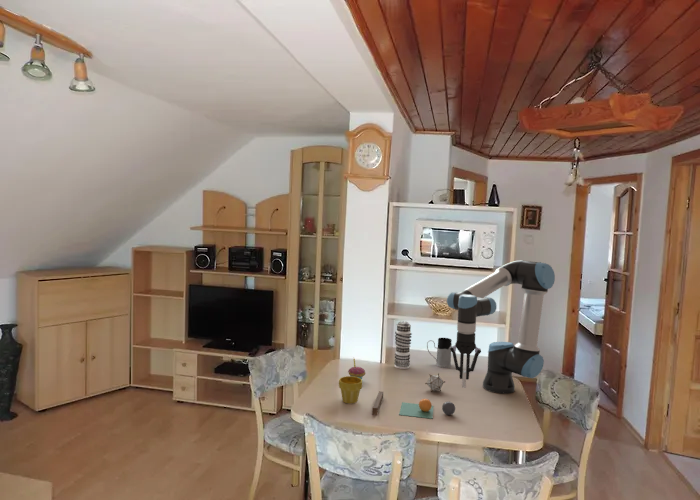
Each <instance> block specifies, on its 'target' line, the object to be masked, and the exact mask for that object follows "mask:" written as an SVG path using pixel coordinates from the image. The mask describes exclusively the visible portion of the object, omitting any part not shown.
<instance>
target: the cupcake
mask: <svg viewBox="0 0 700 500" xmlns="http://www.w3.org/2000/svg"><path fill="white" fill-rule="evenodd" d="M352 359H353V360H352V361H353V367H350V368H349V369H348V371H347V373H348V376H354V377H358V378H360V379H362V380H363V378H364V376H365V375H366V370H365V369H364V368H363V367H361V366H356V359H355V358H352Z"/></svg>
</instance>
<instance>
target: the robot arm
mask: <svg viewBox="0 0 700 500" xmlns="http://www.w3.org/2000/svg"><path fill="white" fill-rule="evenodd" d="M555 281H556V275H555V271H554V269H553V267H552V265H550V264H549V263H546V262H545V263H544V262H541V261H539V262H538V261H530V260H514V261H511V262H508V263H506V264H503V265H501V266H500V267H498V268H496V269H495V271H494V272H493V273H491V274H489V275H488V276H486V277H485V278H483V279H481V280H480V281H478V282H476V283H474V284H472V285H470V286H469V287H466V288H465V289H464V290H462V291H460V292H457V291H455V292H452V291H451V292H450V293H449V294H448V296H447V298H446V304H447V306H448V307H449V308H451V309H453V310H455V311H457V326H456V329H457V330H456V331H457V332H456V342H455V344H454V345H453V346H451V347H450V350H451V354H452V358H453V361H454V367H455V370H456V371H459V379H460V380H461V388H463V389H465V388H466V385H467V380H468V381H469V379H470V373H471V372H474V371H475V369H476V364H477V360H478V359H479V358H478V357H479V355H480V354H481V353H482V351H481V348H479V347H478V346H477V345H476V330H477V329H476V328H477V318H478V317H484V316H490V315H494V314H495V313H496V311H497V302H496V301H495V299H494V298H492V297H487V296H489V295H491V294H492V293H494V292H495V291H497V290H499V289H501V288H503V287H509V286H511V285H513V284H514V285H515V284H516V285H517V284H518V285H521V290H522V292H523V293H524V294H523V302H522V307H521V316H520V323H519V331H518V338H517V343H513V342H510V341H494V342H491V343H490V344H488V345H489V346H488V351H487V353H488V354H487V355H488V356H487V370H486V374H485V377H484V378H483V381H482V387H483V389H485V390H486V391H489V392H492V393H497V394H511V393H514V392H515V390H516V389H515V387H516V386H515V381H514V379H513V374H517V375H519V376H521V377H525V378H528V379H534V378H536V377H538V376H539V374H540V373H541V372H542V370H543V367H544V364H545V359H544V356H543V355H541V354H540V352H541V351H540V348H539V347H538V340H539V333H540V325H541V318H542V317H541V316H542V310H543V304H544V296H545V295H546V294H547V293H548V291H549V290H550V289H551V288H553V286H554V284H555ZM456 351H458V352H459V353H460V357H459V363H458V357H457V353H456ZM473 352H474V356H473V358H472V362H470V361H471V360H470V358H471V354H472V353H473ZM465 355H466V365H465V370H464V357H465ZM470 363H471V364H470ZM470 365H471V366H470Z"/></svg>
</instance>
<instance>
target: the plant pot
mask: <svg viewBox="0 0 700 500" xmlns="http://www.w3.org/2000/svg"><path fill="white" fill-rule="evenodd" d="M338 388H339V389H340V392H341V393H340V394H341V398H342V399H341V400H342V402H343V403H345V404H351V405H352V404H356V403H357V402H358V401H359V395H360V391H361V390H362V388H363V378H362V379H360V378H358V377H354V376H350V375H348V376H346V375H345V376H342V377H340V378H339V380H338Z"/></svg>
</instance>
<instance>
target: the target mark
mask: <svg viewBox="0 0 700 500" xmlns="http://www.w3.org/2000/svg"><path fill="white" fill-rule="evenodd" d="M400 405H401V406H400V409H399V412H398V415H399V416H404V417H405V416H406V417H412V418H422V419H429V420H431V419H432V420H433V418H434V407H435V406H434V405H432V407H431V409H430V410H429V411H428V412H423V411H422V410H421V409H420V408H419V403H414V402H413V403H412V402H404V401H402V402H401V404H400Z"/></svg>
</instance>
